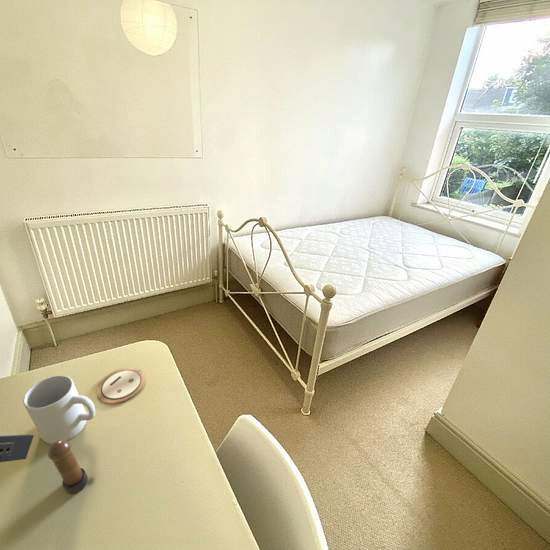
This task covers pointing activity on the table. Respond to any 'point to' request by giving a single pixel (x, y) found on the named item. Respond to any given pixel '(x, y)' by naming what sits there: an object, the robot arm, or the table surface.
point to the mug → (57, 408)
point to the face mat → (121, 385)
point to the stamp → (67, 466)
